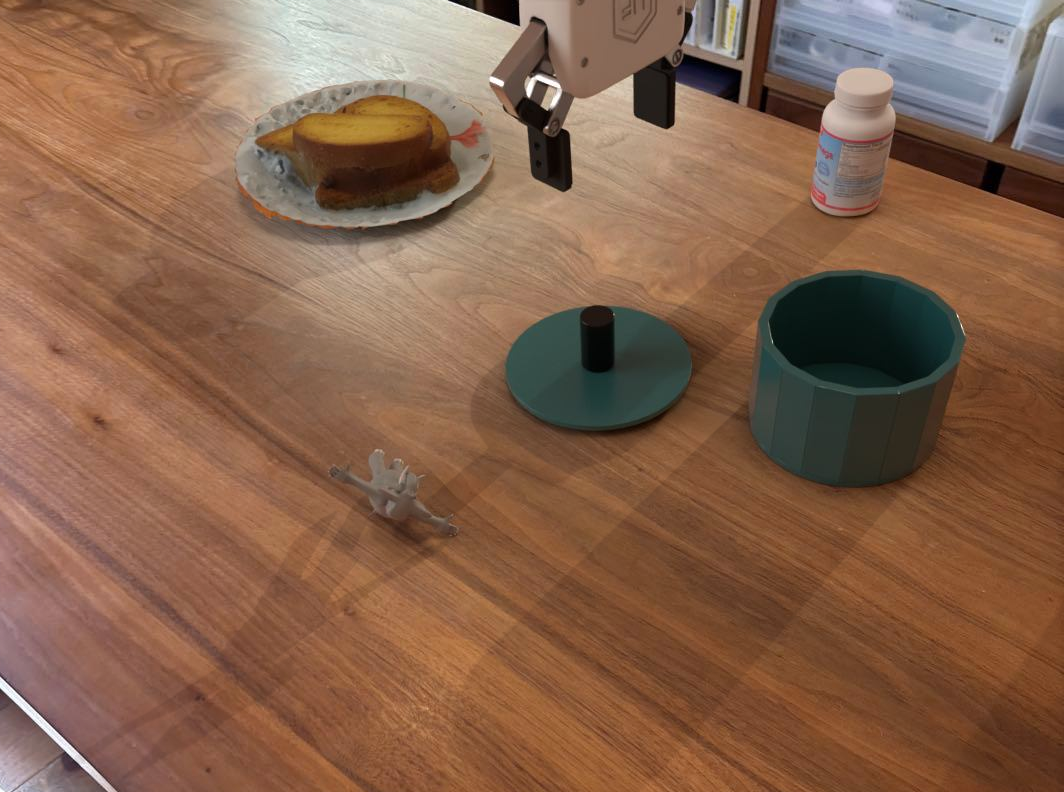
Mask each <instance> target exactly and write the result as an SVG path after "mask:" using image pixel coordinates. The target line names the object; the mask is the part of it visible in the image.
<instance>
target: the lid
mask: <svg viewBox="0 0 1064 792" xmlns="http://www.w3.org/2000/svg"><path fill="white" fill-rule="evenodd" d="M692 372H693V359H692V355H691V351H690V348H689V346H688V344H687V342H686V341H685V339H684V338H683V336H682V334H680V333H679V332H678V330H676V329H675V328H674V327H672V326H671V325H670V323H667V322H666V321H664V320H662V319H661V318H659V317H657V316H654V315H652V314H650V313H647V312H645V311H641V310H638V309H635V308H631V307H624V306H619V305H618V306H616V305H602V304H593V305H587V306H580V307H574V308H570V309H566V310H562V311H559V312H555V313H553V314H550V315H548V316H546V317H544V318H542V319H540V320H538V321H536V322H535V323H533V324H531V325H530V326H529V327H527V328H526V329H525V330H524V331H523V332H522V333H521V334H519V336H518V337H517V338H516V340H515V341H514V342H513V343H512V345H511V347H510V349H509V351H508V353H507V356H506V360H505V378H506V382H507V386H508V388H509V390H510V391H509V392H510V393H511V395H512V396H513V398H514V399H515V400H516V401H517V403H519V404H520V406H521V407H523V409H525V410H526V411H528V413H530V414H532V415H533V416H535V417H537V418H538V419H541V420H543V421H546V422H548V423H549V424H552V425H556V426H559V427H562V428H567V429H572V430H579V431H589V432H590V431H594V432H595V431H596V432H597V431H598V432H600V431H601V432H602V431H613V430H619V429H624V428H629V427H633V426H637V425H639V424H642V423H645V422H648V421H650V420H652V419H654V418H656V417H658V416H660V415H661V414H663V413H664V412H666V411H667V410H669V409H670V408H672V407H673V406H674V405H675V404H676V403H677V402H678V400H679V399H680V398H681V397H682V396H683V395H684V393H685V391H686V390H687V388H688V386H689V383H690V381H691V377H692Z"/></svg>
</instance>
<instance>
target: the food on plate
mask: <svg viewBox="0 0 1064 792" xmlns="http://www.w3.org/2000/svg"><path fill="white" fill-rule="evenodd" d="M483 116H484V114H483V112H481V111H480V110H478V109H477V108H476V107H475V106H474V105H473V104H471V103H469V102H467V101H462V100H461V99H460V98H457V97H456V96H454V95H453V94H452V93H449V92H447V91H444V90H441V89H439V88H437V87H435V86H433V85H430V84H421V83H418V82H412V81H408V80H401V79H399V80H396V79H392V78H391V79H371V80H361V81H358V80H354V81H353V82H348V83H343V84H334V85H329V86H328V85H327V86H324V87H322V88H320V89H316V90H313V91H311V92H304V93H302V94H300V95H298V96H296V97H294V98H292V99H291V98H290V99H289V100H287V101H284V102H283V103H280V104H277V105H274V106H273V107H271V108H270V110H269V111H268V112H266V113H264V114H262V115H260V116H257V117H256V118H254V123H253V125H251V126H250V127H249V128H248V129H247V130H246V131H245V132H244V134H243V135H244V136H243V140H241V141H240V142H239V143H238V145H237V146H236V151H235V154H234V157H235V158H234V162H235V165H234V171H235V175H236V177H235V181H237V186H238V189H239V190H240V191H241V192H242V193H243V196H244V197H248V198H249V199H251V201H252V204H253V207H254V209H255V210H257V211H258V212H259V213H261V214H263V215H264V217H265V218H267V219H269V220H272V217H276V216H277V217H278V218H279V219H280V220H282V221H296V224H297V225H300V224H303V225H306V226H312V227H319V228H321V229H323V230H327V229H338V228H340V227H341V228H343V229H345V230H349V231H351V230H353V229H357V228H359V227H361V231H363V230H365V229H367V228H369V227H370V228H371V227H372V228H373V227H379V226H386V225H387V226H393V225H397V224H399V222H403V221H408V220H409V221H410V220H414V219H417V220H420V219H421V220H422V219H424V217H425V216H429V215H431V214H434V213H437V212H438V211H439V210H440V209H443V208H447V207H449V206H451V205H452V204H453V201H456V200H457V199H459V198H460V197H462V196H463V195H465V194H467V193H468V192H470V191H473V188H474V187H475V186H477V185H479V184H482V183H483V181H484V180H485V177H486V175H487V174H489V171H490V170H491V169H492V168H493V166H494V162H495V160H496V157H495V156H494V147H493V146H492V143H493V138H492V137H491V136H490V134H489V130H488V128H487V126H486V125H485V122H484V121H483V118H482V117H483ZM483 155H488V157H487V158H486V159H483V158H481V156H483Z"/></svg>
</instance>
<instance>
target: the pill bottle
mask: <svg viewBox="0 0 1064 792" xmlns="http://www.w3.org/2000/svg"><path fill="white" fill-rule="evenodd" d="M894 84H895V82H894V79H893V77H892V76H891V75H890V74H888V73H887V72H885V71H883V70H881V69H877V68H873V67H855V68H851V69H847V70H845V71H843V72H841V73H840V74H839V75H838V76H837V78H836V82H835V88H834V93H833V94H834V99H833V100H831V101H830V102H828V104H827V105H826V107H825V108H824V110H823V113H822V115H821V121H820V129H819V135H818V142H817V148H816V149H817V151H816V156H815V162H814V169H813V175H812V183H811V189H810V198H811V201H812V203H813V204H814V205H815V207H816V208H818V209H819V210H820V211H822V212H824V213H826V214H828V215H832V216H835V217H856V216H857V217H858V216H862V215H866V214H868V213H870V212H871V211H873V210H874V209H875V208H877V206H879V205H878V204H879V203H880V201H881V196H882V193H883V187H884V183H885V177H886V172H887V167H888V163H889V158H890V152H891V148H892V142H893V138H894V137H893V136H894V133H895V125H896V121H897V119H896V118H897V117H896V116H897V115H896V111H895V109H894V107H893V106H892V104H891V103H890V102H891V99H893V91H894Z"/></svg>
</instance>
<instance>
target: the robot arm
mask: <svg viewBox="0 0 1064 792" xmlns="http://www.w3.org/2000/svg"><path fill="white" fill-rule="evenodd" d="M697 1H698V0H519V1H518V4H519V5H518V7H519V27H520V29H519V31H520V36H519V37H518V39H517V40H516V41H515V42H514V43H513V45H512V46H511V48H510V49H509V50H508V51H507V53H506V54H505V56H504V57H503V58H502V60H501V61H500V62H499V64H498V65H497V66H496V67H495V69H494V70H493V71H492V72H491V74H490V76H489V80H488V81H489V86H490V88H491V90H492V91H493V93H494V94H495V96H496V98H497V100H498V101H499V102H500V104H502V109H503V111H504V112H505V113H506V114H508V116H510V117H512V118H514V119H515V120H516V121H517V122H518V123H519V124H521V125H523V126H526V129H527V142H528V152H529V153H528V154H529V165H530V173H531V174H530V175H531V176H532V177H533V179H535V181H538V182H540V183H543V184H545V185H547V186H548V187H551V188H553V189H555V190H557V191H558V192H562V193H566V192H567V191H569V190H570V189H572V187H573V184H574V182H573V181H574V180H573V164H572V147H571V145H572V143H571V133H570V131H568V130H567V129H565V128H563V126H564V123H565V120H566V119H567V116H568V114H569V112H570V109H571V107H572V105H573V102H574V99H575V98H576V99H579V100H582V99H584V100H585V99H589V98H591V97H595V96H596V95H598V94H600V93H602V92H604V91H605V90H608V89H609V88H611V87H613V86H615V85H617V84H619V83H620V82H622V81H624V80H626V79H627V78H630V77H631V76H632V92H633V95H632V96H633V97H632V98H633V99H632V103H633V104H632V105H633V111H632V112H633V116H634V117H635V119H638V120H641V121H644V122H646V123H648V124H651V125H653V126H656V127H659V128H661V129H663V130H669V129H671V128H672V127H674V126H675V123H676V84H677V69H675V68H677V67H678V66H679V65H680V64H681V63H682V61H683V59H684V49H683V47H682V46H683V43H684V41H685V40H686V37H687V36H688V34H689V31H690V30H691V28H692V26H693V22H694V16H693V13H692V11H694V10H695V7H696V3H697ZM527 78H529V79H530V80H529V82H528V84H527V87H525V86H526V85H525V84H526V81H527ZM548 88H550V89H553V90H555V92H554V94H553V97H552V99H551V102H550V104H549V107H548V109H546V108H544V107H543V106H542V104H543V101H544V100H545V96H546V95H547V92H548Z"/></svg>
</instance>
